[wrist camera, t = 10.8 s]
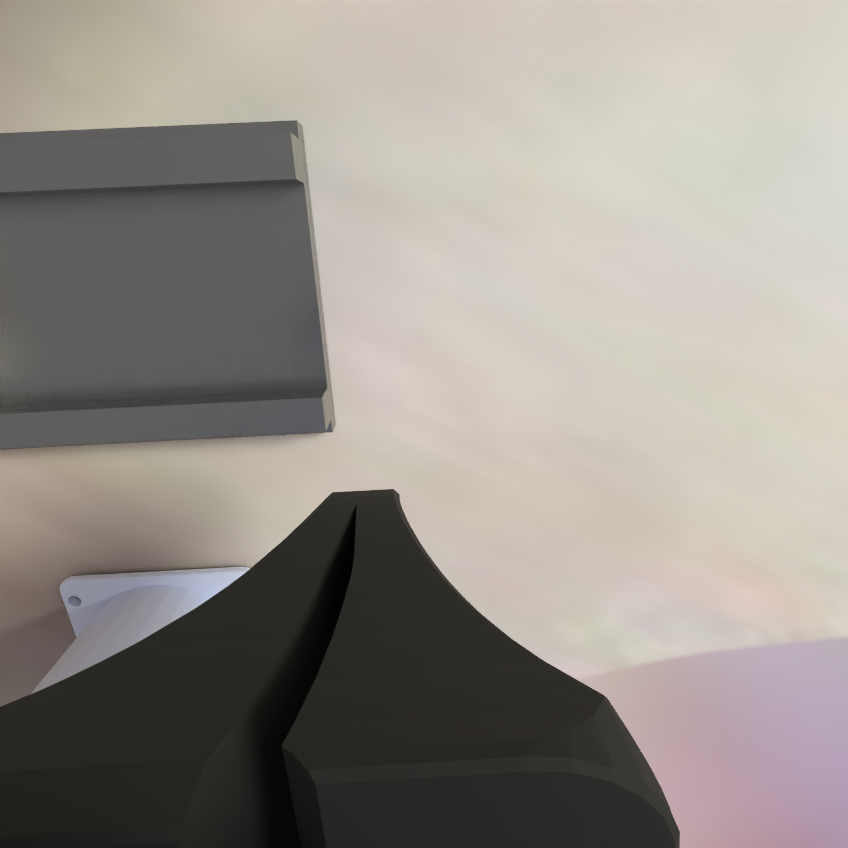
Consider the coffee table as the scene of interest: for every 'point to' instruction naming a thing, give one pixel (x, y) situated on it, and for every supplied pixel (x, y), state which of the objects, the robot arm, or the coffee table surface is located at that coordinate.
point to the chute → (159, 286)
